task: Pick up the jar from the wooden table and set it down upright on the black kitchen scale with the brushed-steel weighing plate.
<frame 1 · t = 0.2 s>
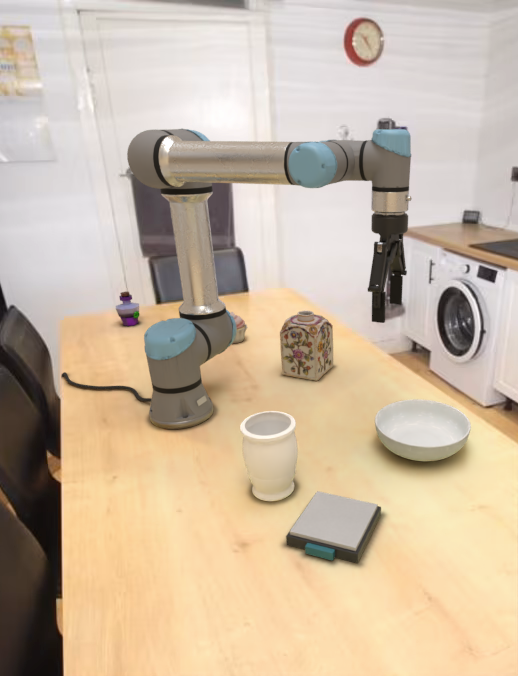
hand: (387, 312, 119), 28 cm above the table, tool pointing down, fingers open, 13 cm apart
potion bottle: (130, 324, 198), on the table
jar: (273, 489, 107), on the table
cupcake: (234, 340, 183), on the table
scale: (335, 529, 96), on the table
serving bowl: (420, 448, 121), on the table
decorative jar: (308, 371, 159), on the table
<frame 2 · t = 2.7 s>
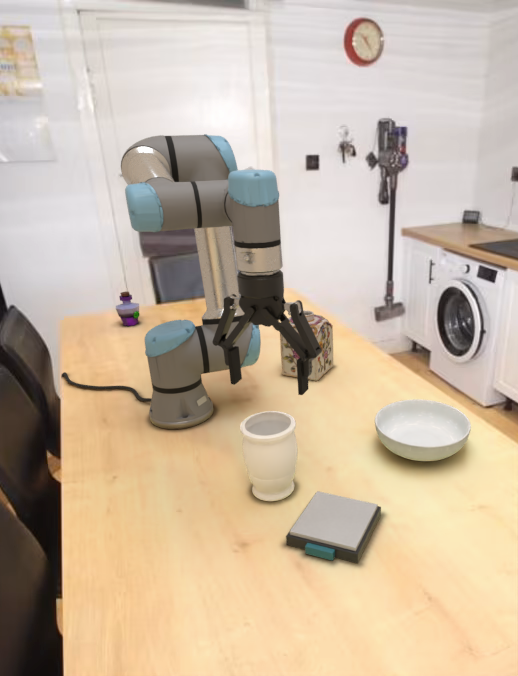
hand: (269, 386, 98), 22 cm above the table, tool pointing down, fingers open, 13 cm apart
nothing on the table moved.
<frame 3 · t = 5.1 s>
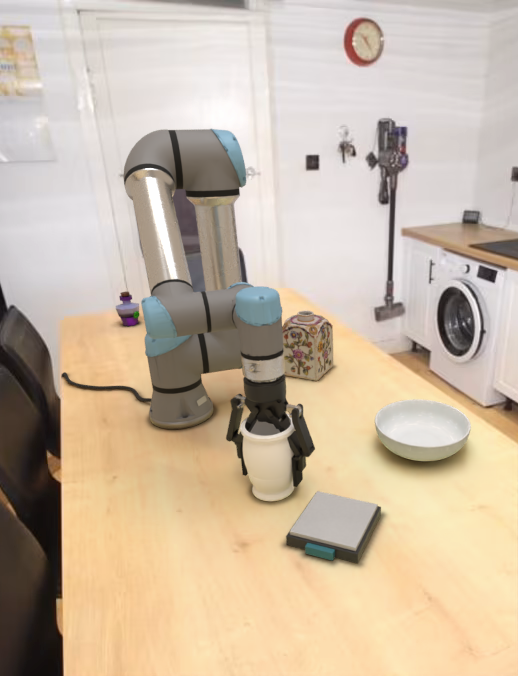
hand: (272, 477, 106), 3 cm above the table, tool pointing down, fingers closed on jar, 10 cm apart
jar: (273, 489, 107), on the table, touching gripper
everything else where it was.
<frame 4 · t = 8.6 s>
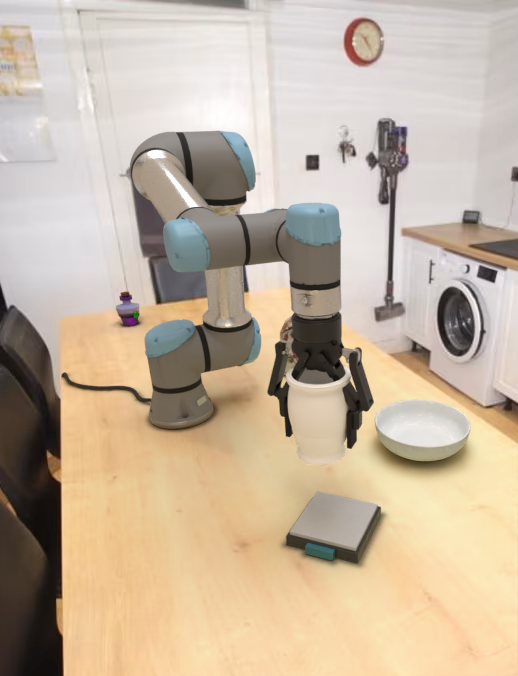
hand: (321, 438, 91), 18 cm above the table, tool pointing down, fingers closed on jar, 10 cm apart
jar: (321, 453, 92), point 15 cm above the table, touching gripper
everything else where it was.
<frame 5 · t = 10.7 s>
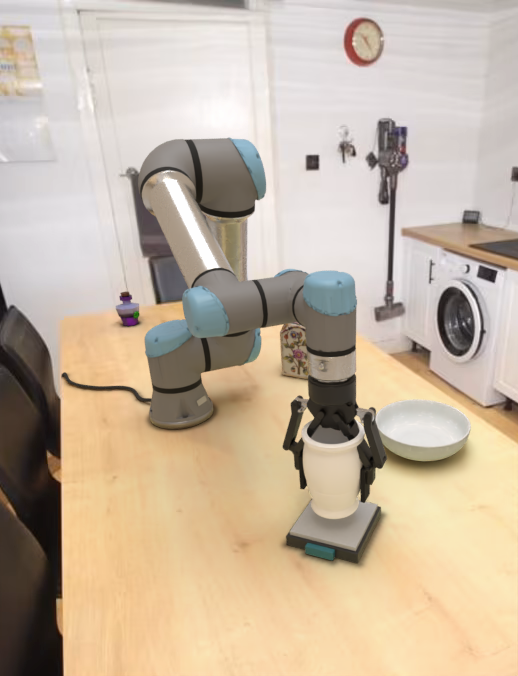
hand: (334, 491, 93), 8 cm above the table, tool pointing down, fingers closed on jar, 10 cm apart
jar: (335, 505, 94), point 5 cm above the table, touching gripper
everything else where it was.
when the fingers open (6 cm above the table, at t = 12.1 s): jar stays where it is, resting on scale.
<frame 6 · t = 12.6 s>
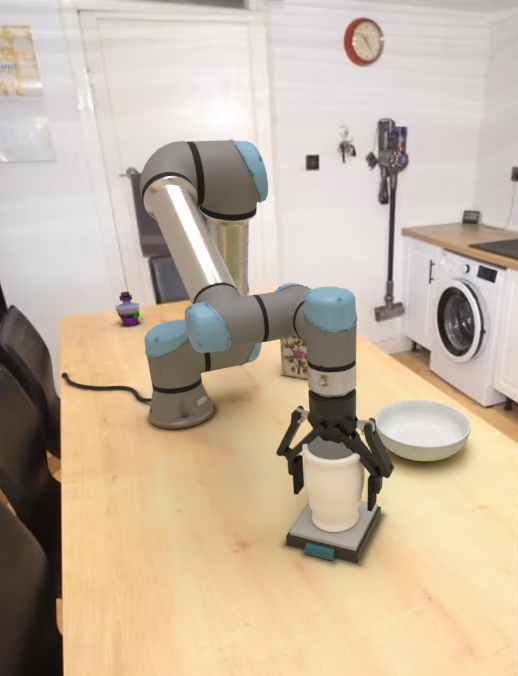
hand: (334, 498, 93), 7 cm above the table, tool pointing down, fingers open, 13 cm apart
jar: (335, 518, 95), point 3 cm above the table, touching scale
everything else where it was.
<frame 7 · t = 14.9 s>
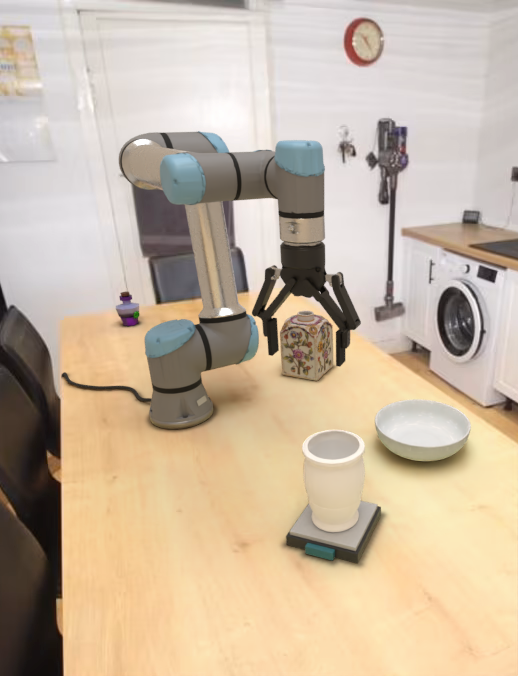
hand: (306, 358, 100), 26 cm above the table, tool pointing down, fingers open, 13 cm apart
nothing on the table moved.
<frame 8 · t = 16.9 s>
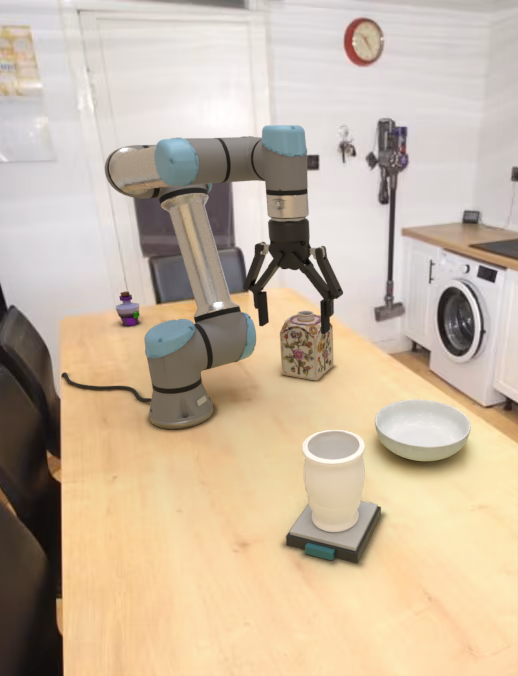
hand: (294, 328, 108), 29 cm above the table, tool pointing down, fingers open, 13 cm apart
nothing on the table moved.
at the end: jar inside the target area on the scale (0.0 cm from its centre), point 2.6 cm above the scale's base; jar tilted 0°; the gripper is holding nothing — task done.
